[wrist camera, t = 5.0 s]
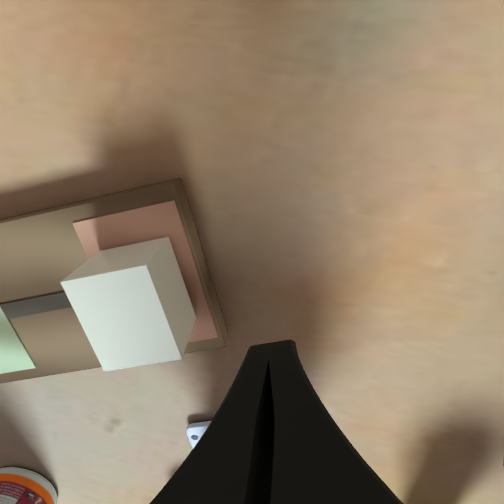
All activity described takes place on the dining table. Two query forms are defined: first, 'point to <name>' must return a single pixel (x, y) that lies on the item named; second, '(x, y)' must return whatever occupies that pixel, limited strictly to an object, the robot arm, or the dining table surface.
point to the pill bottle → (25, 487)
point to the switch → (75, 254)
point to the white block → (132, 304)
